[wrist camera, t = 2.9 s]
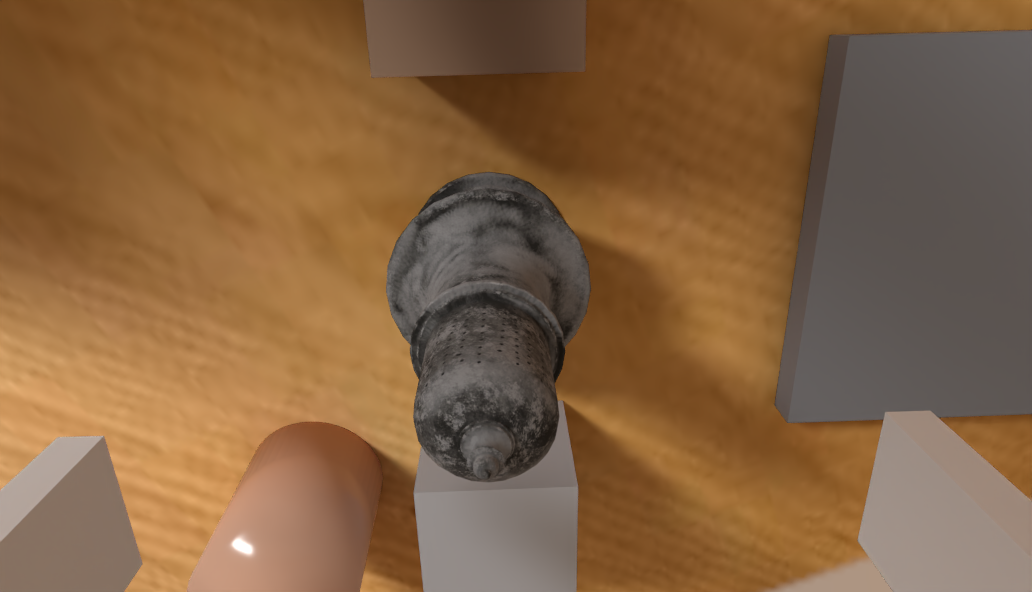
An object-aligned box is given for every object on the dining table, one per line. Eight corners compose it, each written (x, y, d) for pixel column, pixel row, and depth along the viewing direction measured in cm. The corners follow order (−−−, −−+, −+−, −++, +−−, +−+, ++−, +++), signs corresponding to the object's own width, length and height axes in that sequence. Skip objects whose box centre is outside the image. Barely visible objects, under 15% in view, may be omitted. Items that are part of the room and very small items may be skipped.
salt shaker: (421, 141, 21) (341, 281, 10) (599, 188, 22) (709, 366, 11) (386, 307, 23) (287, 575, 12) (548, 344, 24) (597, 629, 13)
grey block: (437, 511, 27) (425, 614, 22) (428, 404, 25) (413, 492, 20) (561, 506, 27) (576, 608, 22) (562, 399, 25) (578, 486, 20)
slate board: (774, 405, 25) (787, 423, 24) (829, 35, 20) (849, 36, 19) (1113, 392, 25) (1141, 410, 24) (1251, 24, 20) (1295, 24, 19)
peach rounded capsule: (262, 529, 27) (204, 664, 21) (241, 424, 25) (171, 542, 19) (388, 524, 27) (363, 657, 21) (376, 419, 25) (346, 535, 19)
